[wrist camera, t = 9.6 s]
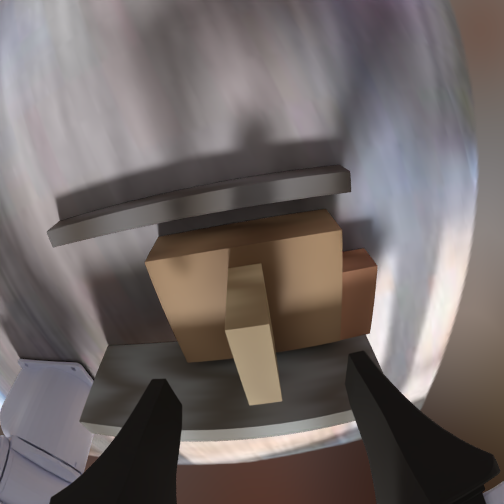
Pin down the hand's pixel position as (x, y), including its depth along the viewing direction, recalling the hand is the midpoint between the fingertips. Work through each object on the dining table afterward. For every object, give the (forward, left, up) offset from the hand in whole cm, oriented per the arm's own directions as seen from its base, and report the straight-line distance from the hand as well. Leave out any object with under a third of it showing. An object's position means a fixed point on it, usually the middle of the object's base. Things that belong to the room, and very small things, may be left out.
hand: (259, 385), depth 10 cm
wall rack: (-2, 0, -7) cm, 7 cm away
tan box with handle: (0, 0, -7) cm, 7 cm away
